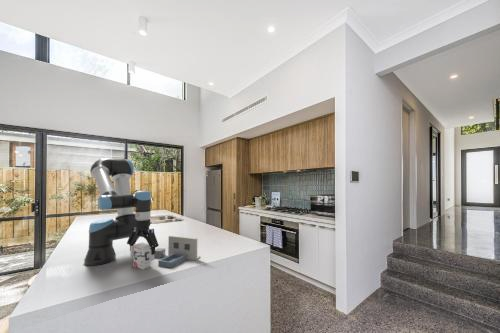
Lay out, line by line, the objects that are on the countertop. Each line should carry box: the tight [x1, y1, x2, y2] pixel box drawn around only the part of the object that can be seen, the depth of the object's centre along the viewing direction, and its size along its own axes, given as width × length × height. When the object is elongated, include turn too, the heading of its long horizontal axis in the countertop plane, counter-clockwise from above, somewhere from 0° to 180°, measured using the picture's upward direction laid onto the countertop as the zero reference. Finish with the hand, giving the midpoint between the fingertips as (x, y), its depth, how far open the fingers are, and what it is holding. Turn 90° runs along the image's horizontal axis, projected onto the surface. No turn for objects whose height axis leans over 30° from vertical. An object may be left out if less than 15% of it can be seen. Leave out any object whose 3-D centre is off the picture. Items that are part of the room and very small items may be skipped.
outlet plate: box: [167, 235, 201, 261], centre depth 133 cm, size 20×5×12 cm, turn 69°
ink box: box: [132, 242, 152, 270], centre depth 119 cm, size 8×5×12 cm, turn 60°
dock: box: [157, 253, 187, 269], centre depth 123 cm, size 9×13×3 cm
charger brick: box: [154, 247, 166, 259], centre depth 134 cm, size 6×5×4 cm
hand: (142, 259), depth 118 cm, fingers open, 13 cm apart
